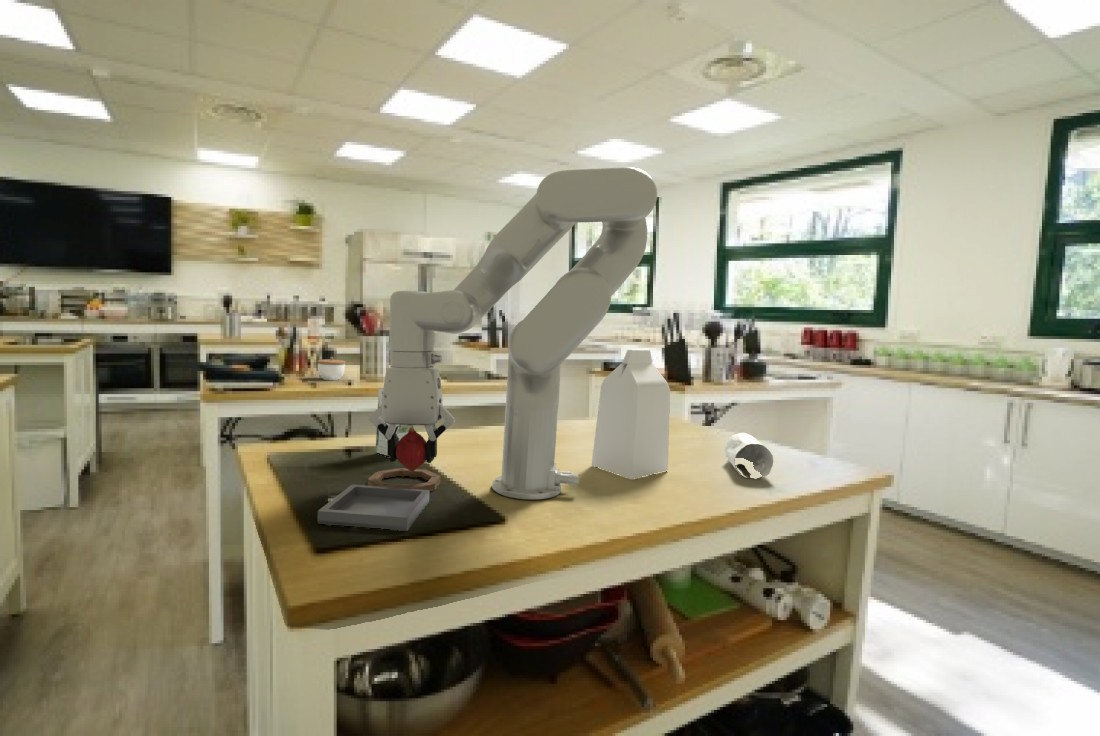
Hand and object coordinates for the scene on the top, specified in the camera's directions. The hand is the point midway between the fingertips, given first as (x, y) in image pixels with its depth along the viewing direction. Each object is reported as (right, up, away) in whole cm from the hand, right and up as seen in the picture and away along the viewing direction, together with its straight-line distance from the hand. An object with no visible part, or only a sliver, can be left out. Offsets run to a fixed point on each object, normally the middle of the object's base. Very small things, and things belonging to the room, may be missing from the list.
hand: (412, 459), depth 103 cm
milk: (+42, -6, +21) cm, 47 cm away
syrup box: (-9, -2, +20) cm, 22 cm away
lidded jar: (-65, +12, +132) cm, 147 cm away
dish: (-2, -6, -15) cm, 16 cm away
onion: (0, -2, 0) cm, 2 cm away
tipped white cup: (+68, -7, +27) cm, 74 cm away
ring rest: (-1, -4, 0) cm, 5 cm away
